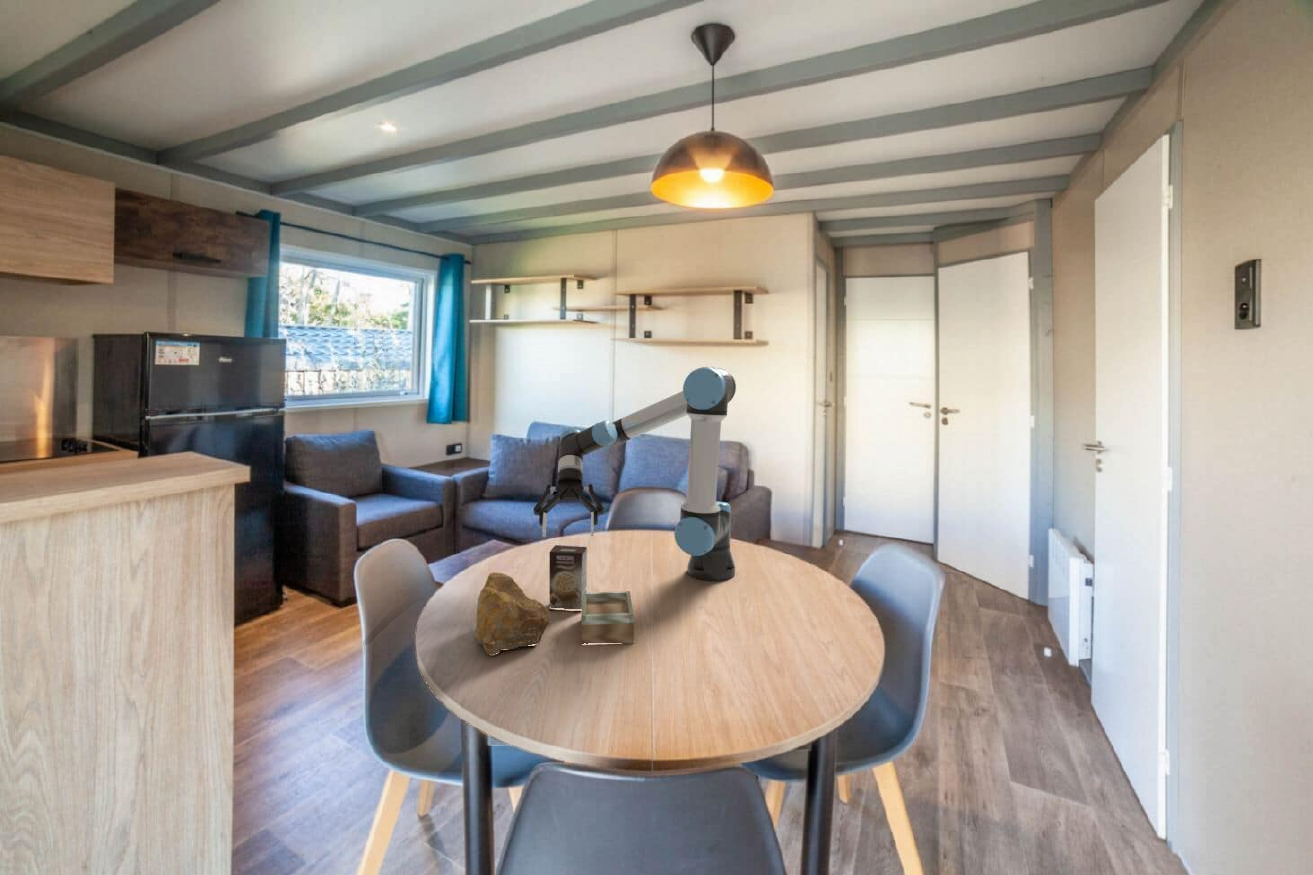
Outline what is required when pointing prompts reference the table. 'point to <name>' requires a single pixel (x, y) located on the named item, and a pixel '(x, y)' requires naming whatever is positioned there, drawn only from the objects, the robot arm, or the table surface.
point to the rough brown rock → (508, 616)
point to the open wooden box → (607, 617)
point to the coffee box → (567, 576)
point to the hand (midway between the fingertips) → (568, 534)
